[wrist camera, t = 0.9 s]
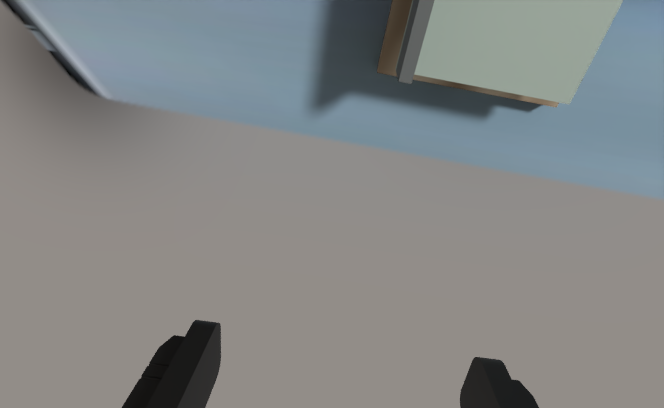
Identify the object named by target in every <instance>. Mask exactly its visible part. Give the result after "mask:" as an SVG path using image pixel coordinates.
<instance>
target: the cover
mask: <svg viewBox="0 0 664 408" xmlns="http://www.w3.org/2000/svg"><path fill="white" fill-rule="evenodd" d="M622 2H623V0H412V4H411V8H410V12H409V16H408V20H407V24H406V28H405V32H404V36H403V40H402V44H401V48H400V52H399V56H398V60H397V64H396V68H395V69H396V73H397V77H398V81H399V82H404V83H409V84H412V80H413V77H414V74H415V75H420V76H425V77H430V78H435V79H441V80H446V81H451V82H456V83H461V84H466V85H472V86H477V87H482V88H487V89H492V90H497V91H503V92H508V93H513V94H518V95H523V96H528V97H534V98H539V99H544V100H549V101H554V102H559V103H565V104H570V102H571V100H572V98H573V96H574V95H575V93H576V91H577V89H578V87H579V85H580V83H581V81H582V79H583V77H584V75H585V73H586V71H587V69H588V67H589V66H590V64H591V62H592V60H593V58H594V56H595V54H596V52H597V50H598V48H599V46H600V44H601V42H602V40H603V38H604V36H605V35H606V33H607V31H608V29H609V27H610V25H611V23H612V21H613V19H614V17H615V15H616V13H617V11H618V9H619V7H620V6H621V4H622Z"/></svg>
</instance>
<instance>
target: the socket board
mask: <svg viewBox="0 0 664 408" xmlns="http://www.w3.org/2000/svg"><path fill="white" fill-rule="evenodd" d="M411 4H412V0H392V4H391V8H390V13H389V17H388V22H387V26H386V31H385V35H384V40H383V44H382V49H381V53H380V58H379V62H378V67H377V73H381V74H386V75H392V76H397V73H396V69H395V68H396V64H397V60H398V56H399V52H400V48H401V44H402V40H403V36H404V32H405V28H406V24H407V20H408V16H409V12H410V8H411ZM413 80H417V81H423V82H428V83H433V84H438V85H443V86H448V87H454V88H459V89H464V90H469V91H474V92H480V93H485V94H490V95H495V96H500V97H505V98H511V99H516V100H521V101H526V102H531V103H536V104H542V105H547V106H552V107H557V106H558V104H559V102H554V101H549V100H544V99H539V98H534V97H528V96H523V95H518V94H513V93H508V92H503V91H497V90H492V89H487V88H482V87H477V86H472V85H466V84H461V83H456V82H451V81H446V80H441V79H435V78H430V77H425V76H420V75H415V74H414V77H413Z"/></svg>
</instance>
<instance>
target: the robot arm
mask: <svg viewBox="0 0 664 408" xmlns="http://www.w3.org/2000/svg"><path fill="white" fill-rule="evenodd" d="M220 331H221V328H220V323H215V322H208V321H200V320H195V321H194V322H193V323H192V325H191V327H190V329H189V330H188V332H187V334H186V336H185V337H182V336H175V335H174V336H173V337H171V338H170V339H169V340H168V341H166V342H165V343H164V344H163V345H162V346H160V347H159V349H158V350H157V352H156V353H155V355H154V357H153V358H152V360H151V361H150V364H149V366H147V368H146V369H145V371H144V373H143V374H142V377H141V379H139V381H138V382H137V384H136V385H135V387H134V389H133V390H132V392H131V394H130V395H129V397H128V398H127V400H126V402H125V403H124V405H123V406H122V408H205V406H206V404H207V401H208V399H209V396H210V394H211V391H212V389H213V386H214V384H215V381H216V378H217V375H218V372H219V367H220V361H221V332H220ZM460 406H461V408H539V407H538V405H537V403H536V401H535V399H534V397H533V396H532V395H531V394H530V392H529V391H528V390H527V389H526V388H525V387H524V386H523V385H522V383H521V382H520V381H518V380H511V377H510V375H509V373H508V371H507V369H506V367H505V365H504V363H503V362H502V361H501V360H496V359H488V358H480V357H475V358H474V359H473V361H472V363H471V366H470V369H469V371H468V374H467V376H466V379H465V381H464V384H463V387H462V389H461V394H460Z"/></svg>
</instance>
